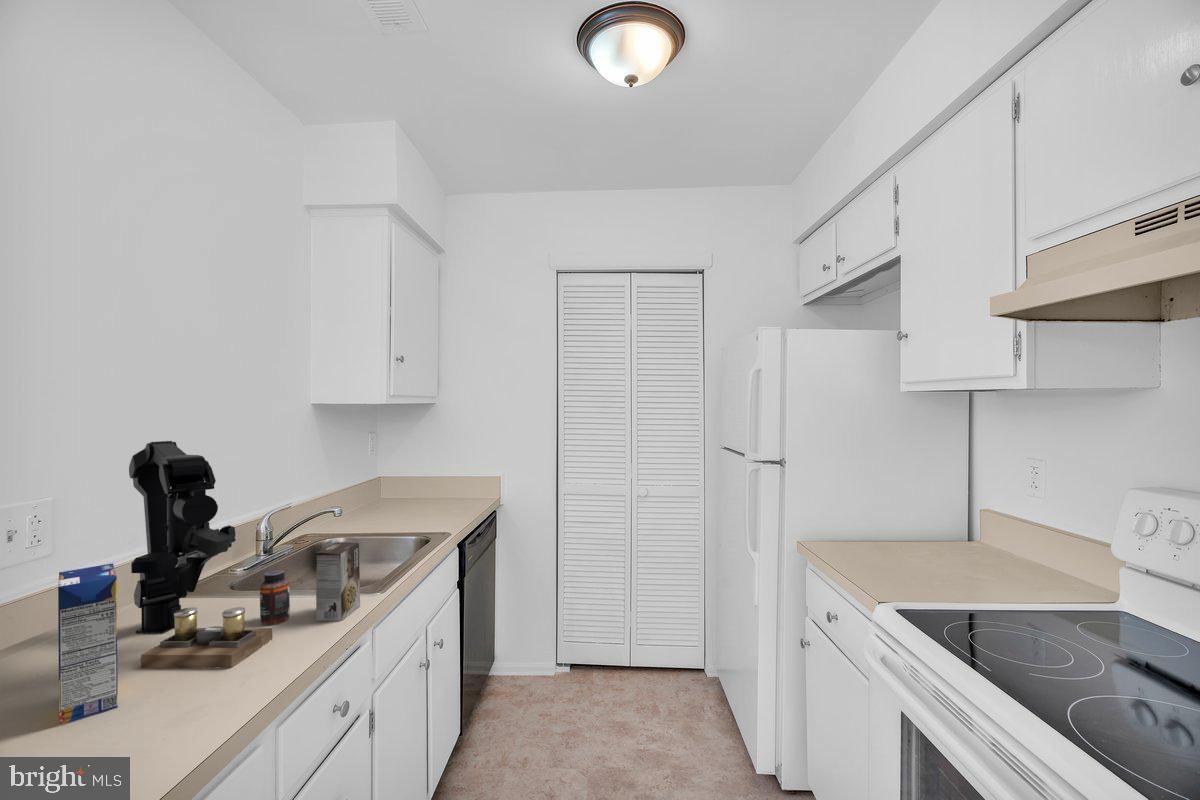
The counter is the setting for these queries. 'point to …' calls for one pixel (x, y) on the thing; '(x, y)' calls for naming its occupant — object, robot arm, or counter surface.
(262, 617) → the supplement bottle
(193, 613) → the knob left
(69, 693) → the beverage box
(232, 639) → the knob right
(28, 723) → the counter surface
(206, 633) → the dial
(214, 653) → the mount
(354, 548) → the coffee box
